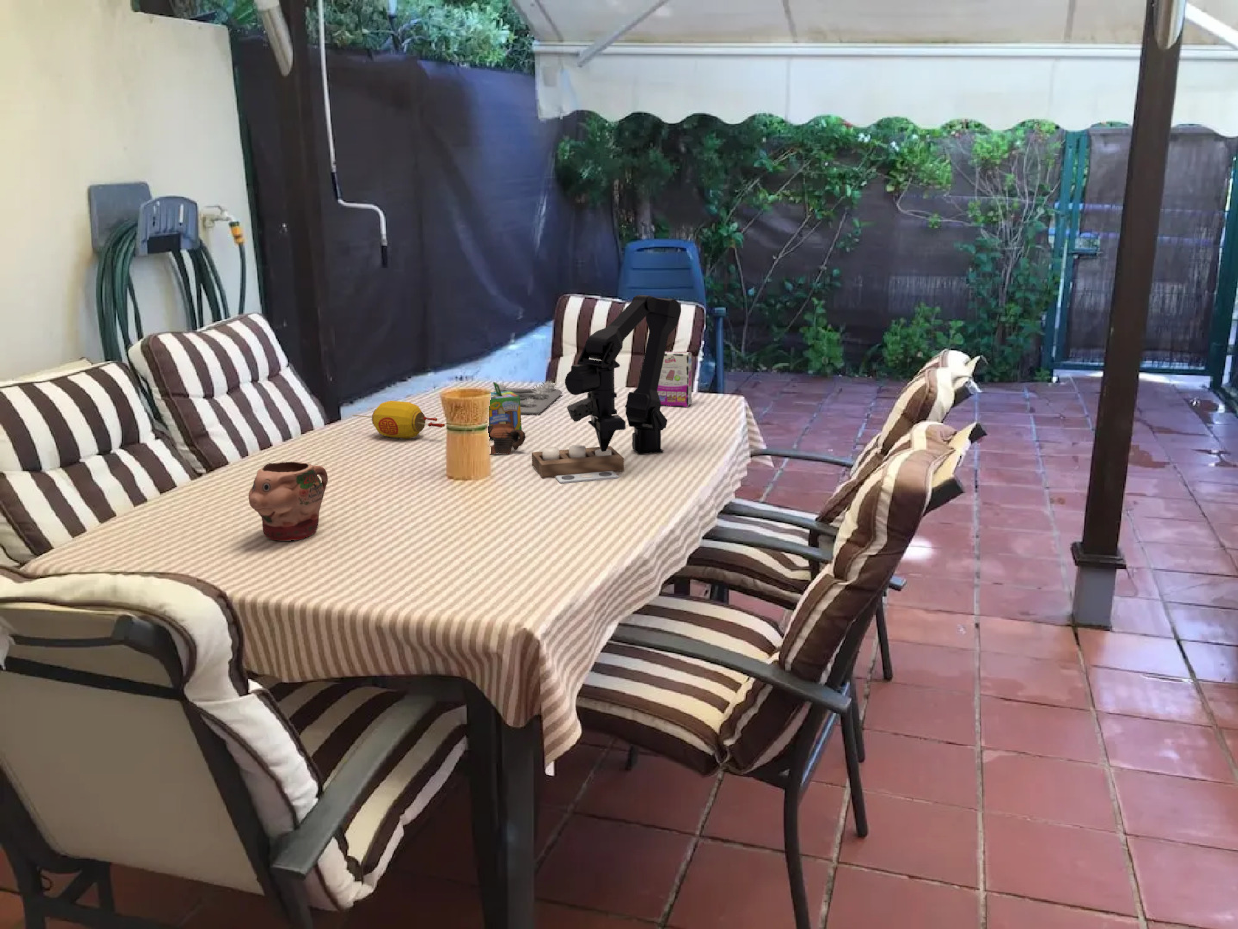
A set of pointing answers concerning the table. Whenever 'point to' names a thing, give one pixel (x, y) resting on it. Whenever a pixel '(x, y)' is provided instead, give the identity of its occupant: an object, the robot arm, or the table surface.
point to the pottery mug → (505, 438)
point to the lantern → (400, 419)
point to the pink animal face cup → (288, 499)
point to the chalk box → (505, 408)
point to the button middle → (577, 451)
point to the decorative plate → (534, 397)
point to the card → (586, 477)
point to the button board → (577, 463)
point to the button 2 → (600, 453)
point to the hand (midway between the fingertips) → (603, 451)
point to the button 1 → (550, 453)
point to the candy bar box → (676, 380)
